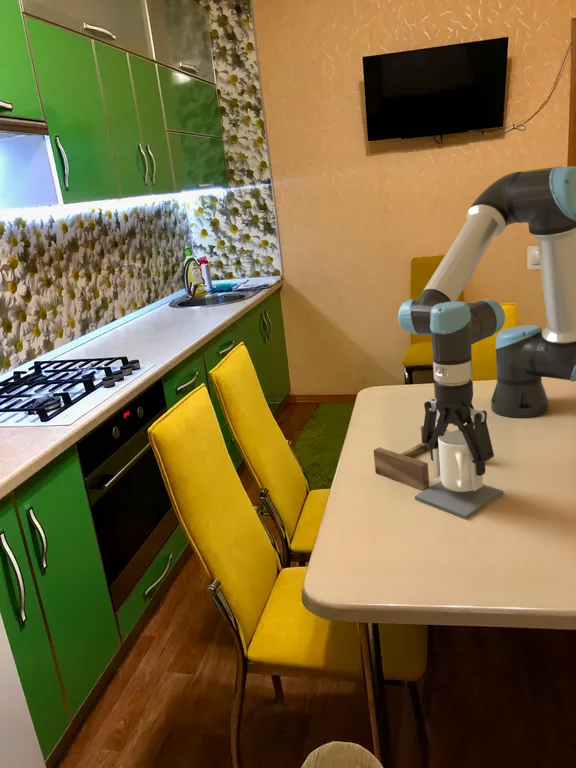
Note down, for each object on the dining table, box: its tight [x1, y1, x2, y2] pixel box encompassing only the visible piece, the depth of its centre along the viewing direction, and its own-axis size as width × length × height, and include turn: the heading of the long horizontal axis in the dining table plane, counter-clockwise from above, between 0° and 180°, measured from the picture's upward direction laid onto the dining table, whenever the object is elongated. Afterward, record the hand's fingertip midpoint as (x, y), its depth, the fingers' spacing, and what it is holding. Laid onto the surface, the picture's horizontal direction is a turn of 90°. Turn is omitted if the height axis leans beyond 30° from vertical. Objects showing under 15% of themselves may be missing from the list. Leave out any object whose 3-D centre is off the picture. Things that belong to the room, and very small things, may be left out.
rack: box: [373, 424, 449, 492], centre depth 146 cm, size 19×14×6 cm
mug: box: [438, 428, 474, 492], centre depth 128 cm, size 9×12×11 cm
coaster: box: [414, 480, 504, 520], centre depth 131 cm, size 13×13×1 cm
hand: (457, 481), depth 130 cm, fingers closed on mug, 9 cm apart
